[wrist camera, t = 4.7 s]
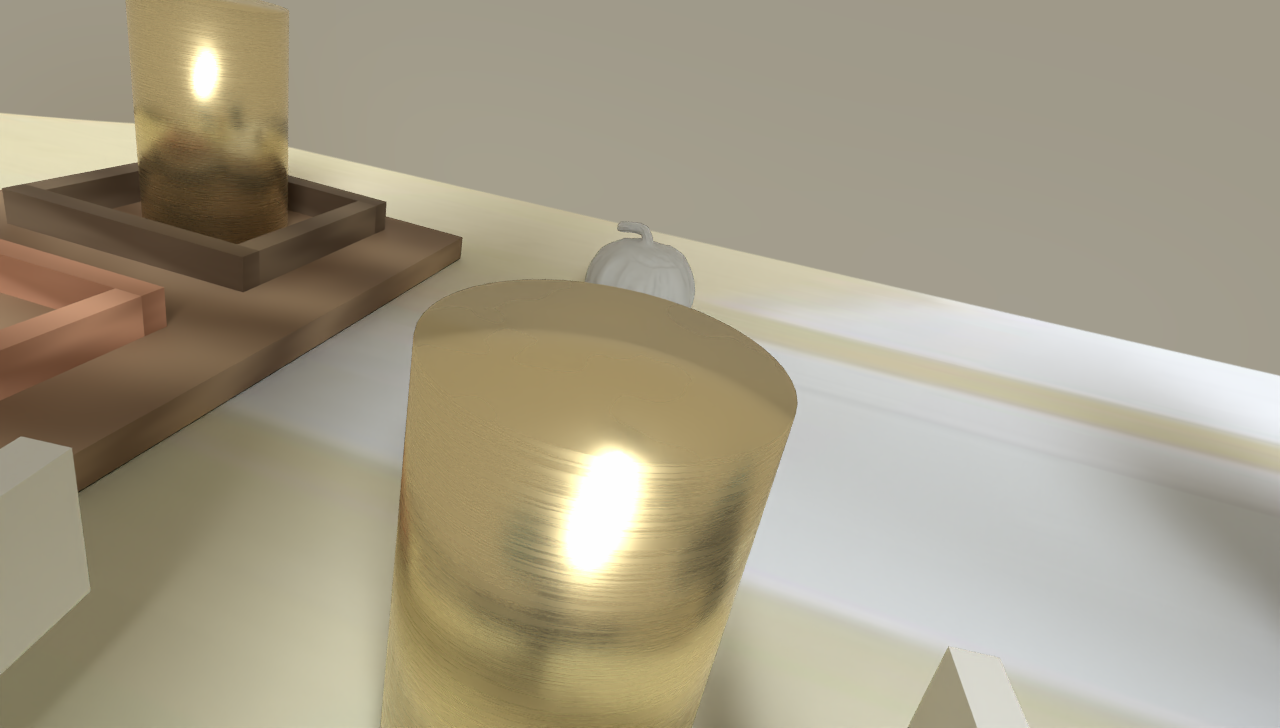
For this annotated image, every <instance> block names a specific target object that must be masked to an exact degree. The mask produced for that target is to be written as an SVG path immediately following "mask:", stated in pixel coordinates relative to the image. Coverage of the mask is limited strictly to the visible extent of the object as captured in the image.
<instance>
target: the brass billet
mask: <svg viewBox="0 0 1280 728" xmlns="http://www.w3.org/2000/svg"><path fill="white" fill-rule="evenodd" d="M796 409H797V395H796V390H795V388H794V385H793V383H792V380H791V379H790V377H789V376H788V374H787V373H786V371H785V369H784V368H783V367H782V366H781V365H780V364H779V363H778V361H777V360H776V359H775V358H774V357H773V356H771V355H770V354H769V353H768V352H767V351H766V350H765V349H764V348H762V347H761V346H760V345H758V344H757V343H756V342H754V341H753V340H752V339H750V338H749V337H747V336H745V335H744V334H742V333H741V332H739V331H737V330H736V329H734V328H732V327H730V326H728V325H726V324H725V323H723V322H721V321H719V320H717V319H715V318H712V317H710V316H708V315H706V314H704V313H701V312H699V311H696V310H694V309H691V308H689V307H686V306H684V305H681V304H678V303H675V302H672V301H669V300H666V299H662V298H659V297H655V296H652V295H648V294H645V293H641V292H636V291H632V290H628V289H623V288H618V287H613V286H607V285H601V284H594V283H587V282H577V281H567V280H546V279H542V280H513V281H503V282H495V283H488V284H484V285H479V286H474V287H471V288H467V289H464V290H461V291H458V292H455V293H453V294H451V295H449V296H446V297H444V298H443V299H441V300H439V301H438V302H436V303H435V304H433V305H432V306H431V307H430V308H429V309H427V310H426V311H425V312H424V313H423V315H422V316H421V318H420V319H419V321H418V322H417V325H416V328H415V331H414V337H413V348H412V360H411V372H410V384H409V396H408V408H407V420H406V432H405V443H404V455H403V467H402V479H401V491H400V503H399V515H398V527H397V538H396V550H395V562H394V574H393V586H392V598H391V610H390V622H389V633H388V645H387V657H386V669H385V681H384V693H383V705H382V716H381V728H692V725H693V722H694V719H695V716H696V713H697V710H698V707H699V704H700V701H701V698H702V695H703V692H704V689H705V686H706V683H707V680H708V677H709V674H710V671H711V668H712V665H713V662H714V659H715V656H716V653H717V650H718V647H719V644H720V641H721V638H722V635H723V632H724V628H725V625H726V622H727V619H728V616H729V613H730V610H731V607H732V604H733V601H734V598H735V595H736V592H737V589H738V586H739V583H740V580H741V577H742V574H743V571H744V568H745V565H746V562H747V559H748V556H749V553H750V550H751V547H752V544H753V541H754V538H755V535H756V532H757V529H758V526H759V523H760V520H761V517H762V514H763V511H764V508H765V505H766V502H767V499H768V496H769V493H770V490H771V487H772V484H773V481H774V478H775V475H776V472H777V469H778V466H779V463H780V460H781V457H782V454H783V451H784V448H785V445H786V442H787V439H788V436H789V433H790V430H791V427H792V424H793V420H794V417H795V414H796Z"/></svg>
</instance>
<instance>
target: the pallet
mask: <svg viewBox="0 0 1280 728" xmlns="http://www.w3.org/2000/svg"><path fill="white" fill-rule="evenodd" d="M461 247H462V237H459V236H456V235H452V234H448V233H445V232H441V231H437V230H434V229H430V228H426V227H423V226H419V225H415V224H412V223H408V222H404V221H401V220H397V219H393V218H390V217H386V202H385V201H381V200H377V199H374V198H370V197H366V196H363V195H359V194H355V193H352V192H348V191H344V190H340V189H337V188H333V187H329V186H326V185H322V184H318V183H315V182H311V181H307V180H303V179H300V178H296V177H292V176H289V175H288V223H287V227H284V228H282V229H279V230H276V231H273V232H270V233H268V234H265V235H262V236H259V237H257V238H254V239H251V240H248V241H245V242H243V243H240V244H234V243H230V242H227V241H223V240H220V239H216V238H213V237H209V236H206V235H202V234H199V233H195V232H192V231H188V230H185V229H181V228H178V227H174V226H171V225H167V224H164V223H160V222H156V221H153V220H149V219H146V218H142V210H141V197H140V183H139V170H138V162H137V163H132V164H127V165H122V166H116V167H111V168H106V169H101V170H95V171H90V172H85V173H80V174H74V175H69V176H64V177H59V178H53V179H48V180H43V181H38V182H32V183H27V184H22V185H17V186H11V187H6V188H2V190H0V449H1V448H3V447H4V446H6V445H7V444H9V443H11V442H12V441H14V440H16V439H17V438H19V437H21V436H22V437H26V438H31V439H35V440H40V441H44V442H48V443H53V444H57V445H62V446H66V447H70V448H72V453H73V460H74V468H75V475H76V483H77V490H78V492H79V491H80V490H82V489H84V488H85V487H87V486H88V485H90V484H92V483H93V482H95V481H97V480H98V479H100V478H102V477H103V476H105V475H106V474H108V473H110V472H111V471H113V470H115V469H116V468H118V467H120V466H121V465H123V464H124V463H126V462H128V461H129V460H131V459H133V458H134V457H136V456H138V455H139V454H141V453H142V452H144V451H146V450H147V449H149V448H151V447H152V446H154V445H156V444H157V443H159V442H160V441H162V440H164V439H165V438H167V437H169V436H170V435H172V434H174V433H175V432H177V431H178V430H180V429H182V428H183V427H185V426H187V425H188V424H190V423H191V422H193V421H195V420H196V419H198V418H200V417H201V416H203V415H205V414H206V413H208V412H209V411H211V410H213V409H214V408H216V407H218V406H219V405H221V404H223V403H224V402H226V401H227V400H229V399H231V398H232V397H234V396H236V395H237V394H239V393H241V392H242V391H244V390H245V389H247V388H249V387H250V386H252V385H254V384H255V383H257V382H259V381H260V380H262V379H263V378H265V377H267V376H268V375H270V374H272V373H273V372H275V371H277V370H278V369H280V368H281V367H283V366H285V365H286V364H288V363H290V362H291V361H293V360H294V359H296V358H298V357H299V356H301V355H303V354H304V353H306V352H308V351H309V350H311V349H312V348H314V347H316V346H317V345H319V344H321V343H322V342H324V341H326V340H327V339H329V338H330V337H332V336H334V335H335V334H337V333H339V332H340V331H342V330H344V329H345V328H347V327H348V326H350V325H352V324H353V323H355V322H357V321H358V320H360V319H362V318H363V317H365V316H366V315H368V314H370V313H371V312H373V311H375V310H376V309H378V308H380V307H381V306H383V305H384V304H386V303H388V302H389V301H391V300H393V299H394V298H396V297H398V296H399V295H401V294H402V293H404V292H406V291H407V290H409V289H411V288H412V287H414V286H415V285H417V284H419V283H420V282H422V281H424V280H425V279H427V278H429V277H430V276H432V275H433V274H435V273H437V272H438V271H440V270H442V269H443V268H445V267H447V266H448V265H450V264H451V263H453V262H455V261H456V260H458V259H460V256H461Z"/></svg>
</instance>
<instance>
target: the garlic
mask: <svg viewBox="0 0 1280 728" xmlns="http://www.w3.org/2000/svg"><path fill="white" fill-rule="evenodd" d="M617 229H618V231H621V232H632V233H637V234H640V235H642V238H623V239H621V240H617V241H615V242H612V243H609V244H607V245H605V246H604V247H602V248H601V249H600V250H599V251H598V252H597V254H596V256H595V257H594V259H593V260H592V261H591V263H590V265H589V267H588V270H587V273H586V278H585V282H587V283H594V284H601V285H607V286H613V287H618V288H623V289H628V290H632V291H636V292H641V293H645V294H648V295H652V296H655V297H659V298H662V299H666V300H669V301H672V302H675V303H678V304H681V305H684V306H686V307H689V308H691V306H692V303H693V300H694V295H695V283H694V278H693V274H692V271H691V268H690V266H689V264H688V262H687V260H686V258H685V256H684V255H683V254H682V253H681V252H679V251H678V250H677V249H675V248H673V247H672V246H670V245H664V244H661V243H657V242H654V241H653V237H652V234H651V232H650V229H649V228H648V227H647V226H646V225H644V224H642V223H637V222H626V221H622V222H620V223H619V224H618V228H617Z"/></svg>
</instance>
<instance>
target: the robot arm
mask: <svg viewBox="0 0 1280 728" xmlns="http://www.w3.org/2000/svg"><path fill="white" fill-rule="evenodd" d="M90 591H91V588H90V580H89V573H88V565H87V558H86V550H85V543H84V535H83V528H82V520H81V513H80V505H79V498H78V490H77V483H76V475H75V468H74V460H73V453H72V448H70V447H66V446H62V445H57V444H53V443H48V442H44V441H40V440H35V439H31V438H26V437H22V436H21V437H19V438H17V439H16V440H14V441H12V442H11V443H9V444H7V445H6V446H4V447H3V448H1V449H0V675H1V674H2V673H3V672H4V671H5V670H6V669H7V668H8V667H9V666H11V665H12V664H13V663H14V662H15V661H16V660H17V659H18V658H19V657H20V656H21V655H22V654H23V653H25V652H26V651H27V650H28V649H29V648H30V647H31V646H32V645H33V644H34V643H35V642H36V641H38V640H39V639H40V638H41V637H42V636H43V635H44V634H45V633H46V632H47V631H48V630H49V629H50V628H52V627H53V626H54V625H55V624H56V623H57V622H58V621H59V620H60V619H61V618H62V617H63V616H64V615H66V614H67V613H68V612H69V611H70V610H71V609H72V608H73V607H74V606H75V605H76V604H77V603H79V602H80V601H81V600H82V599H83V598H84V597H85V596H86V595H87V594H88V593H89V592H90ZM908 728H1029V725H1028V723H1027V721H1026V718H1025V716H1024V714H1023V711H1022V709H1021V706H1020V704H1019V702H1018V699H1017V697H1016V695H1015V692H1014V690H1013V688H1012V685H1011V683H1010V681H1009V678H1008V676H1007V673H1006V671H1005V669H1004V666H1003V664H1002V662H1001V659H1000V658H998V657H994V656H989V655H985V654H981V653H976V652H972V651H967V650H963V649H959V648H954V647H950V646H948V648H947V650H946V652H945V654H944V656H943V658H942V660H941V662H940V664H939V666H938V668H937V670H936V672H935V674H934V676H933V678H932V680H931V682H930V684H929V686H928V688H927V690H926V692H925V694H924V696H923V698H922V700H921V702H920V704H919V706H918V708H917V710H916V712H915V714H914V716H913V718H912V720H911V722H910V724H909V726H908Z"/></svg>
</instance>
